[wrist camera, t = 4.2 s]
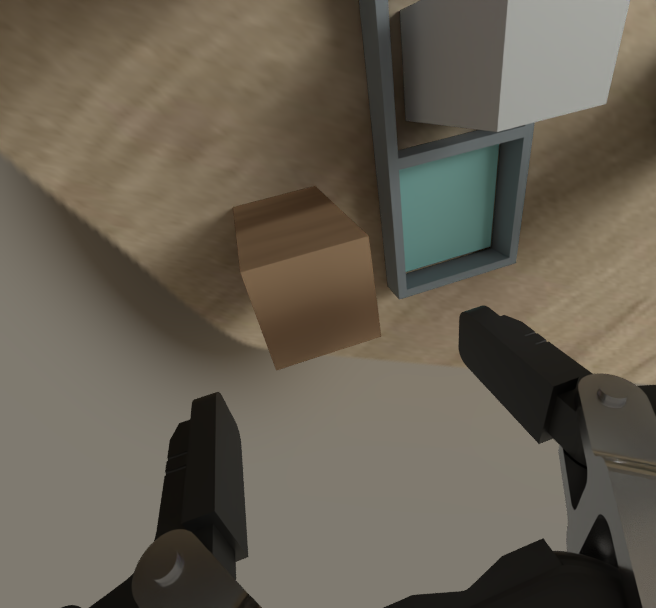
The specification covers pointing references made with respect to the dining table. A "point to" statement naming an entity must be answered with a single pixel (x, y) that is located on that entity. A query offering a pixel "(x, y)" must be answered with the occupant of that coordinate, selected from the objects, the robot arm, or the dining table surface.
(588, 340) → the dining table surface
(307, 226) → the walnut plug
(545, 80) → the divider rack
